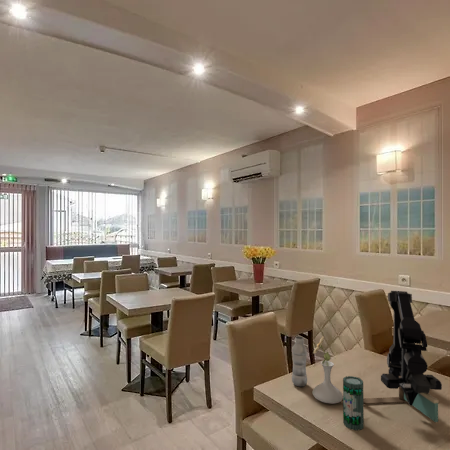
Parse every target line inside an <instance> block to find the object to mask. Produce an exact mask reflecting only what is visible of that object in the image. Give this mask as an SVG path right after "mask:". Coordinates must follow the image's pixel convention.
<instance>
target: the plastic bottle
mask: <svg viewBox="0 0 450 450" xmlns="http://www.w3.org/2000/svg"><path fill="white" fill-rule="evenodd" d="M304 343H305V340H304V337H303V336H300V335H299V336H297V335H296V336H295V338H294V344H293V346H292V348H291V352H292V353H291V355H292V363H293V364H292V374H291V381H292V384H293V385H294V386H296V387H300V388H301V387H305V386H306V385H307V383H308V377H307V376H308V375H307V368H306V367H307V364H306V363H307V355H308V349H307V347H306V345H305V344H304Z"/></svg>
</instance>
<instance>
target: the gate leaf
mask: <svg viewBox="0 0 450 450" xmlns="http://www.w3.org/2000/svg"><path fill="white" fill-rule="evenodd" d="M404 399H405V400H406V401H407V399H406V396H405V394H404ZM407 402H408V401H407ZM439 403H440V400H439V398H436V397H435V396H433V395H432V394H430V392H429V393H418V394H417V396H416V398H415V400H414V402H413V404H412V407H414V408H415V409H417V410H418V411H419V412H421V414H422V415H425V416H426V417H427V418H428V419H430V420H431V421H433V422H434V423H438V422H439Z"/></svg>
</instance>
